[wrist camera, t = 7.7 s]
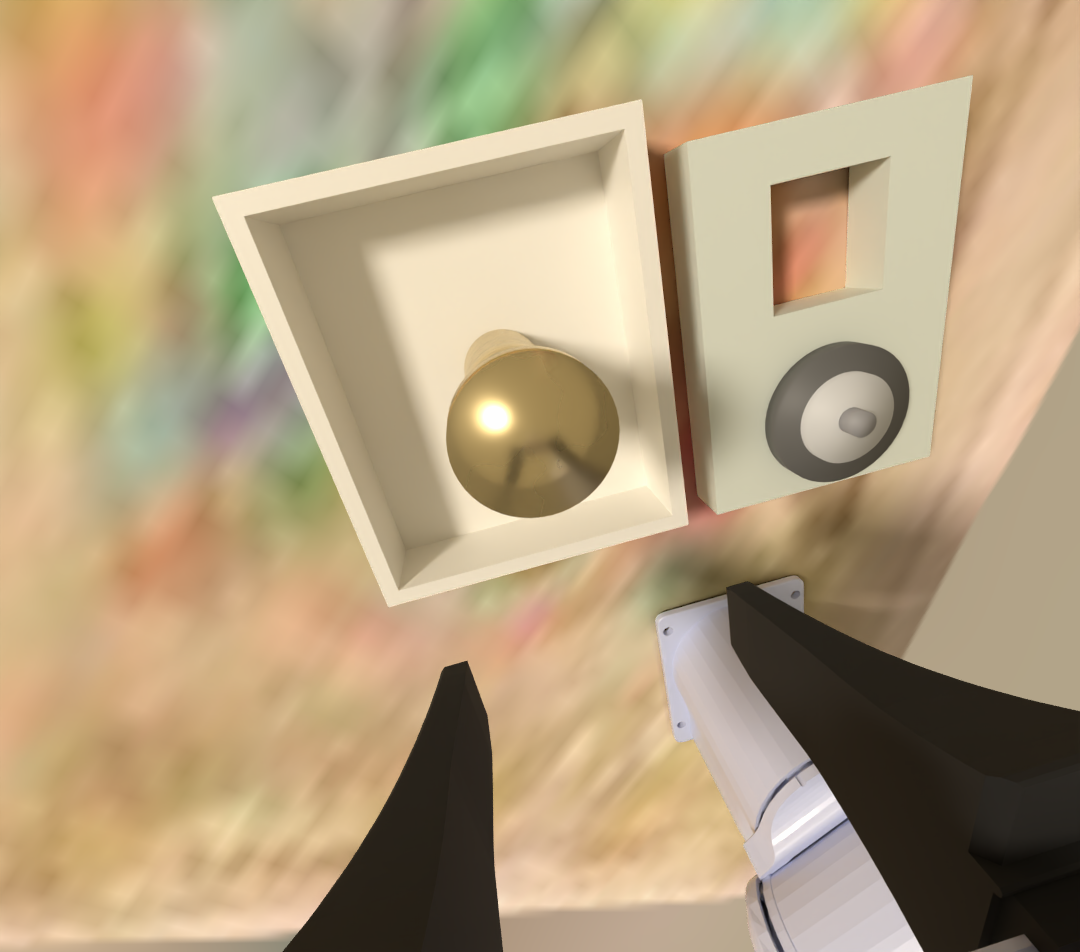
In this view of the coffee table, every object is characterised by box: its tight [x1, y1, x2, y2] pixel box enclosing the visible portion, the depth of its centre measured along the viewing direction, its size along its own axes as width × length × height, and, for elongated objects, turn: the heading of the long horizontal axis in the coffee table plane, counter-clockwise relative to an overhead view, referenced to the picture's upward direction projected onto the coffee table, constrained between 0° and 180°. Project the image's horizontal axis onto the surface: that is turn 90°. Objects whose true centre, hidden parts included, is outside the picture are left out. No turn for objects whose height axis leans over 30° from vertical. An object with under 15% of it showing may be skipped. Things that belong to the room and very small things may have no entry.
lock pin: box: [446, 329, 620, 518], centre depth 15 cm, size 4×4×9 cm
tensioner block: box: [664, 75, 973, 515], centre depth 19 cm, size 14×10×4 cm
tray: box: [212, 99, 689, 607], centre depth 18 cm, size 14×12×4 cm
